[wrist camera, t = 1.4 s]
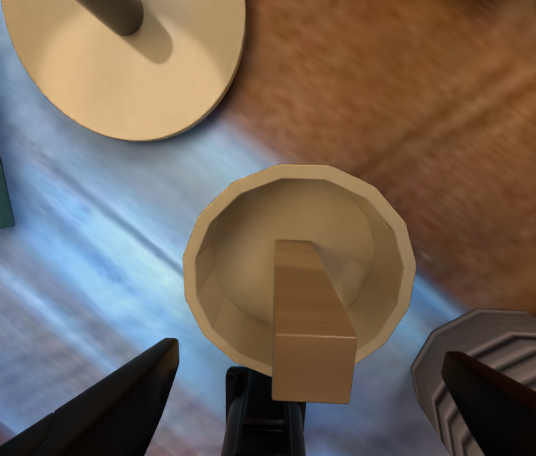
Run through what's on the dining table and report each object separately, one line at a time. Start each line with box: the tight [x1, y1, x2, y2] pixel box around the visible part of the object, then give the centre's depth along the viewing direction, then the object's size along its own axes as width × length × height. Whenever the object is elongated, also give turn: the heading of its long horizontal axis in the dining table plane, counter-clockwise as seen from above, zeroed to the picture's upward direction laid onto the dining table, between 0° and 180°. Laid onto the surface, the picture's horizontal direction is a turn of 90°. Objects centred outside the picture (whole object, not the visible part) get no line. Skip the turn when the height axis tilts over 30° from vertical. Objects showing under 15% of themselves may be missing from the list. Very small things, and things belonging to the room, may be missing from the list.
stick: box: [272, 240, 358, 404], centre depth 13 cm, size 2×2×10 cm
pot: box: [183, 164, 416, 377], centre depth 16 cm, size 12×12×4 cm
